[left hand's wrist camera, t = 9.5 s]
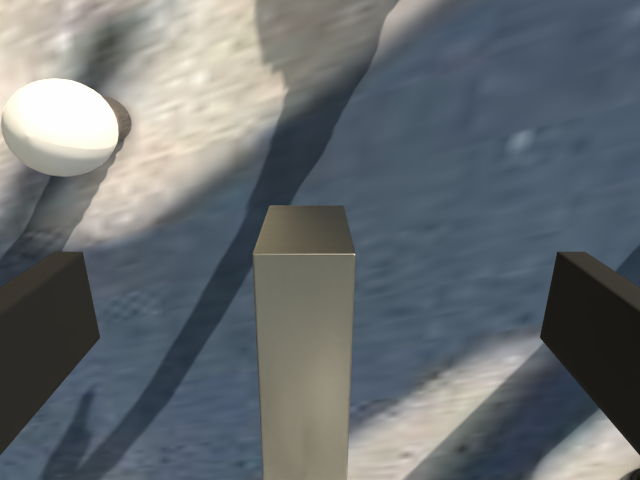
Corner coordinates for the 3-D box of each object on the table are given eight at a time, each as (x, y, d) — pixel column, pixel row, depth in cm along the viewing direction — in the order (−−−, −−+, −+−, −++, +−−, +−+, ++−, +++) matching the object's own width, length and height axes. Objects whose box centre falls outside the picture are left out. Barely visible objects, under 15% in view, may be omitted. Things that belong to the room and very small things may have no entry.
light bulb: (154, 98, 37) (93, 106, 27) (134, 171, 39) (70, 204, 29) (74, 64, 36) (-21, 59, 26) (58, 141, 38) (-36, 164, 28)
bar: (269, 204, 26) (252, 253, 19) (344, 205, 26) (356, 254, 19) (278, 501, 35) (269, 615, 27) (335, 501, 35) (341, 614, 27)
